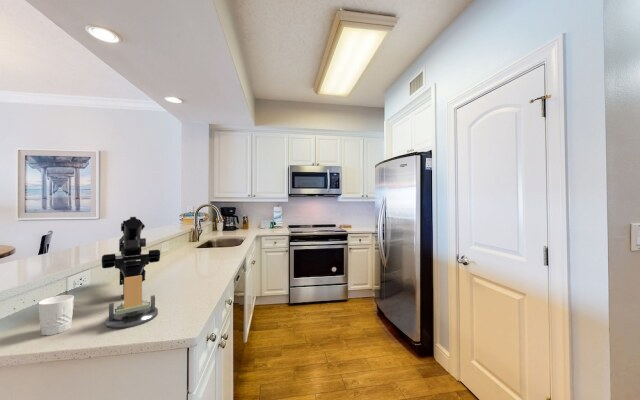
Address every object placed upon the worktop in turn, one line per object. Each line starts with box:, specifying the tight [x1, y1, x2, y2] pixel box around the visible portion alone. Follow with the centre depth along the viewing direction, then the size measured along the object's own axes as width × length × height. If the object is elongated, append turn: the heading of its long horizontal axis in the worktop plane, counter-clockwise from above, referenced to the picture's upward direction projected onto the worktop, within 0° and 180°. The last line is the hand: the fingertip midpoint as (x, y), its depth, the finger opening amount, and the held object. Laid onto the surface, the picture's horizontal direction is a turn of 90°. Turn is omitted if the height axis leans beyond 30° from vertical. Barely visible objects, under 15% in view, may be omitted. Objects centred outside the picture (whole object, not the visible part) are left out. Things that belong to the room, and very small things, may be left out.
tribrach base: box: [104, 295, 159, 330], centre depth 89 cm, size 15×15×6 cm
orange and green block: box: [114, 275, 151, 315], centre depth 90 cm, size 14×10×11 cm
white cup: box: [38, 294, 75, 336], centre depth 80 cm, size 8×8×10 cm
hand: (132, 276), depth 96 cm, fingers open, 4 cm apart
